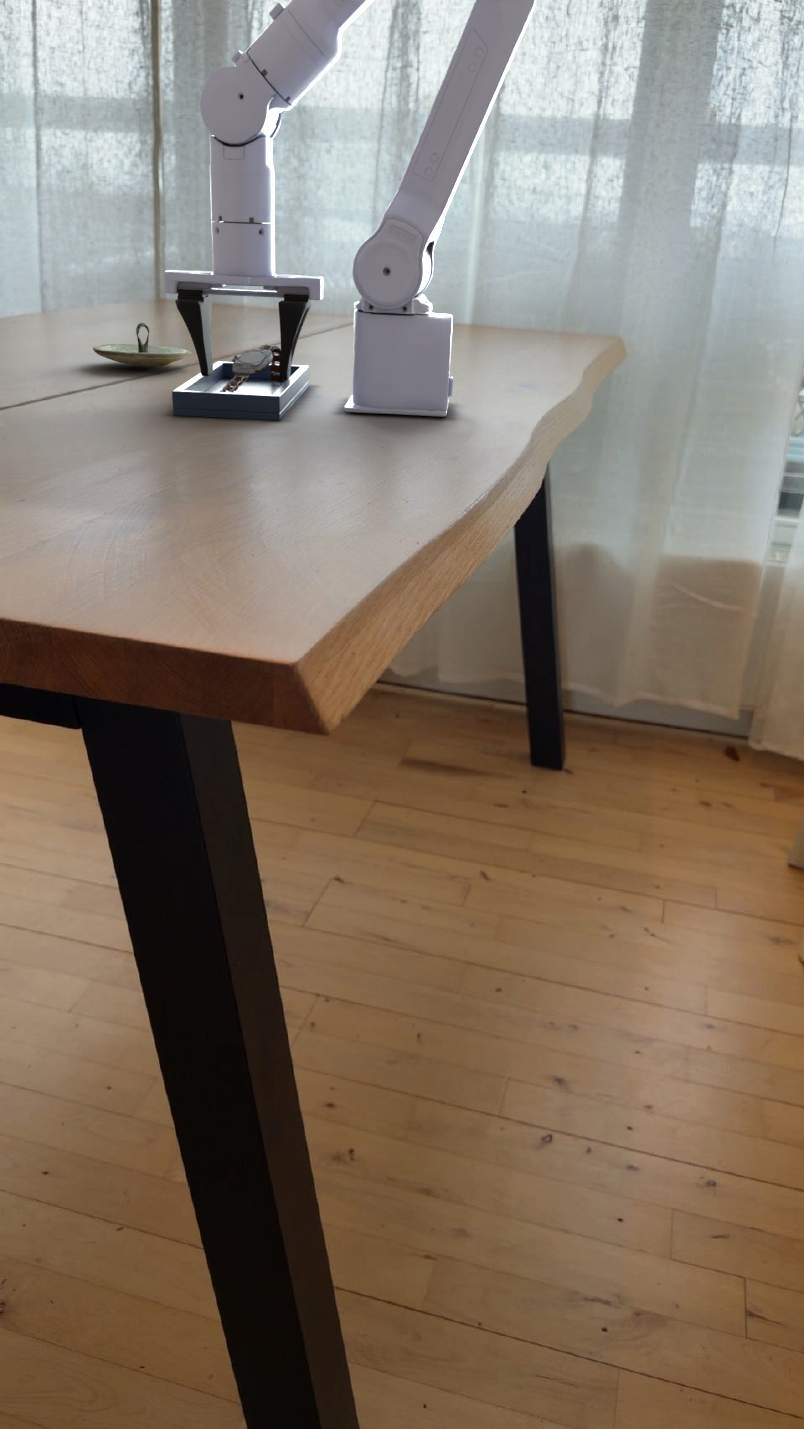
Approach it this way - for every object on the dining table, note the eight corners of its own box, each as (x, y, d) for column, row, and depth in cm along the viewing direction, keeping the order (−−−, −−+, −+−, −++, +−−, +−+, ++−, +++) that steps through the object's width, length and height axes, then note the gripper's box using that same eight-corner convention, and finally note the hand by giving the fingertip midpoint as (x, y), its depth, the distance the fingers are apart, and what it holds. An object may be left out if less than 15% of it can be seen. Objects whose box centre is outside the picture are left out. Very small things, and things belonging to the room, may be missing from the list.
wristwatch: (295, 382, 116) (289, 334, 113) (238, 449, 106) (229, 399, 103) (262, 379, 117) (256, 331, 114) (202, 445, 107) (193, 395, 104)
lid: (182, 393, 124) (198, 348, 123) (92, 357, 120) (107, 311, 119) (175, 380, 133) (190, 339, 132) (91, 346, 130) (105, 303, 128)
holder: (218, 382, 120) (217, 361, 119) (309, 386, 119) (309, 365, 118) (172, 415, 102) (171, 391, 101) (279, 420, 101) (279, 396, 101)
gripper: (153, 220, 101) (160, 379, 106) (316, 227, 100) (315, 386, 106) (172, 218, 107) (178, 368, 113) (326, 225, 106) (325, 375, 112)
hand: (246, 376), depth 110 cm, fingers open, 7 cm apart
